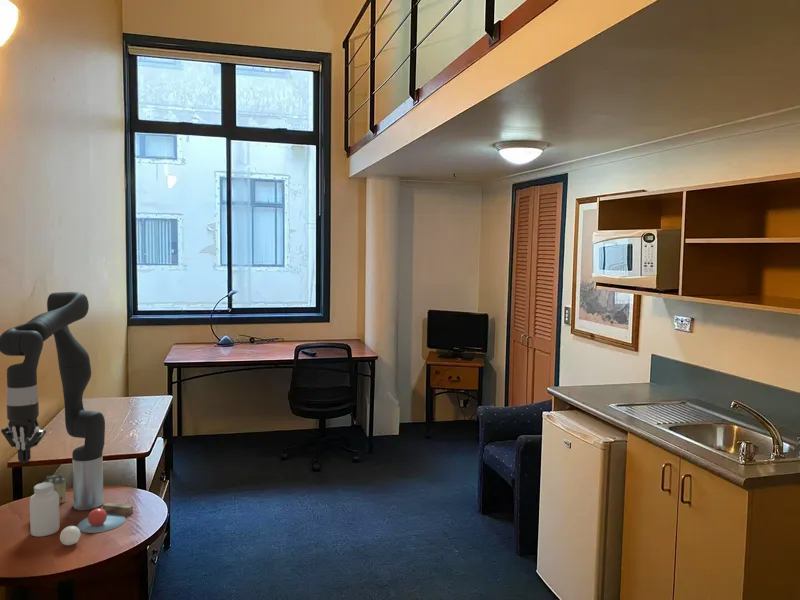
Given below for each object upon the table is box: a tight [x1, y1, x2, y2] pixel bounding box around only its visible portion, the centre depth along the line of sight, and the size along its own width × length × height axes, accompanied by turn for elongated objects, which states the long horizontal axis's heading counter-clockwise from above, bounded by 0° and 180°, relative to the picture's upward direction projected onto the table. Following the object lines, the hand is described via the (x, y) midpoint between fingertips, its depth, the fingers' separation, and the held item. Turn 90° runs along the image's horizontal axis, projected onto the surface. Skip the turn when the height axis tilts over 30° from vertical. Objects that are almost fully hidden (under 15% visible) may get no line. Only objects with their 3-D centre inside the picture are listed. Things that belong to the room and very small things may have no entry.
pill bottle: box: [29, 482, 61, 537], centre depth 187 cm, size 8×8×15 cm
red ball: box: [87, 507, 107, 526], centre depth 192 cm, size 6×6×6 cm
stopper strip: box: [102, 502, 134, 516], centre depth 202 cm, size 10×2×2 cm, turn 79°
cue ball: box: [59, 525, 82, 546], centre depth 179 cm, size 6×6×6 cm
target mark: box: [77, 513, 126, 534], centre depth 194 cm, size 14×14×1 cm
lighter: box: [42, 472, 67, 504], centre depth 208 cm, size 7×4×10 cm, turn 126°
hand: (24, 461), depth 167 cm, fingers closed
